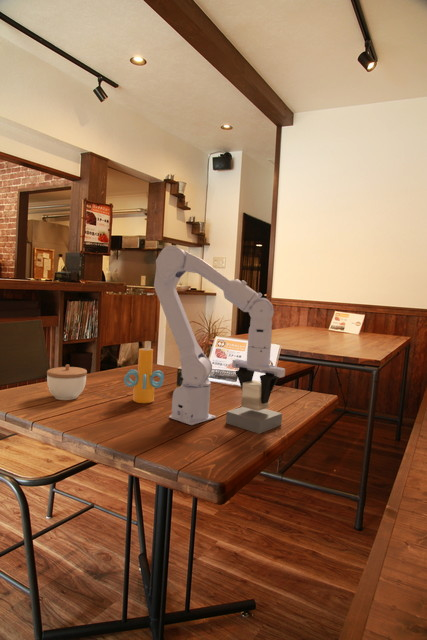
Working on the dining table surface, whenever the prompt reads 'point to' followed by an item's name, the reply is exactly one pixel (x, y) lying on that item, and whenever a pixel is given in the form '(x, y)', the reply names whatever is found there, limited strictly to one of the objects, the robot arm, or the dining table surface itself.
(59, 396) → the lidded jar
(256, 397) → the cream block
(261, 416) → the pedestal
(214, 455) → the dining table surface
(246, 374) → the robot arm
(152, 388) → the cylinder
